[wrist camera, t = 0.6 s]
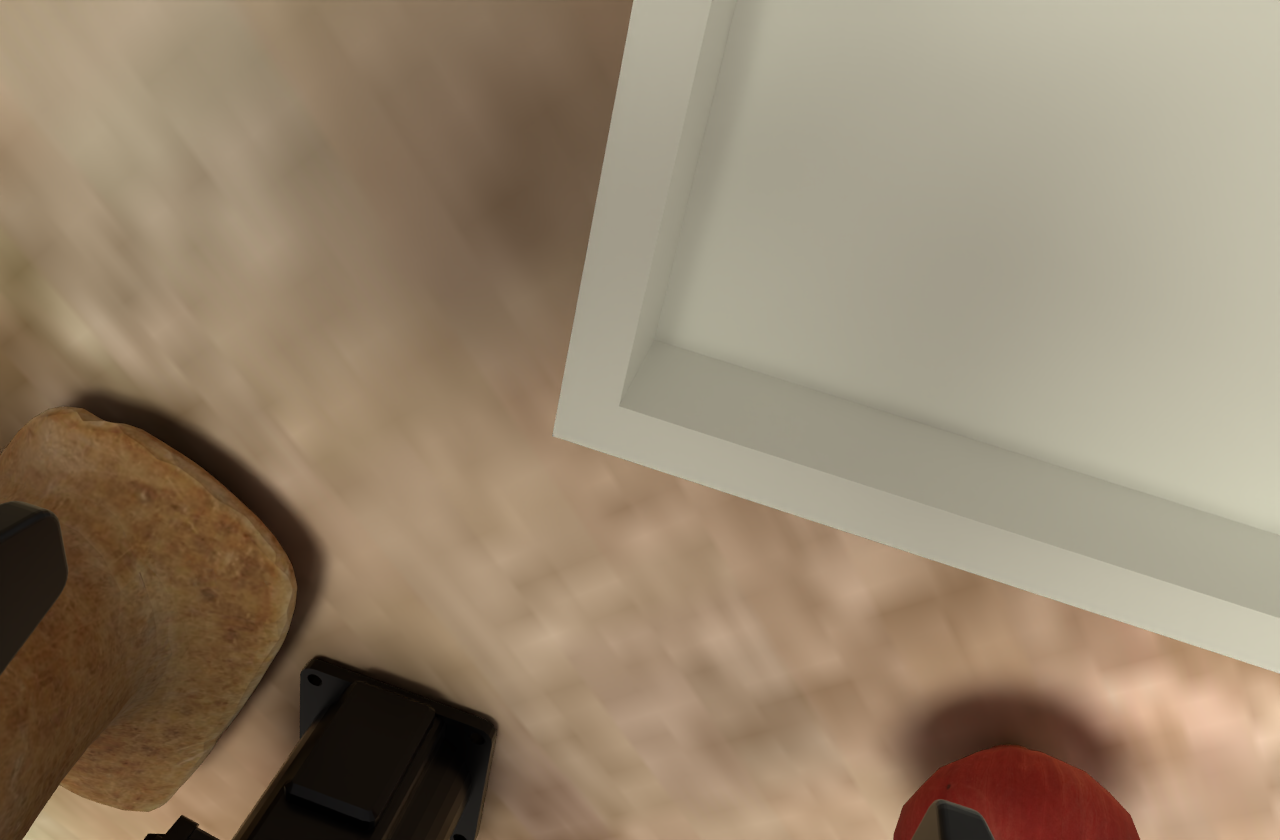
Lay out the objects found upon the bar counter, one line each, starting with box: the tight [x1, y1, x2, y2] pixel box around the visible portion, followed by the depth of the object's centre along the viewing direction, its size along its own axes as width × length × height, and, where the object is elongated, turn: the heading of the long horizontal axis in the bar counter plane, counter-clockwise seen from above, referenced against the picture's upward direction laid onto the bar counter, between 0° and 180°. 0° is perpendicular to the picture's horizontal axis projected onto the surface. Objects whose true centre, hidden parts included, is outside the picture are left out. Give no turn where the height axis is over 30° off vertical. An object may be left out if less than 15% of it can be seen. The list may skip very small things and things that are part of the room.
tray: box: [552, 0, 1280, 673], centre depth 16 cm, size 18×18×4 cm
